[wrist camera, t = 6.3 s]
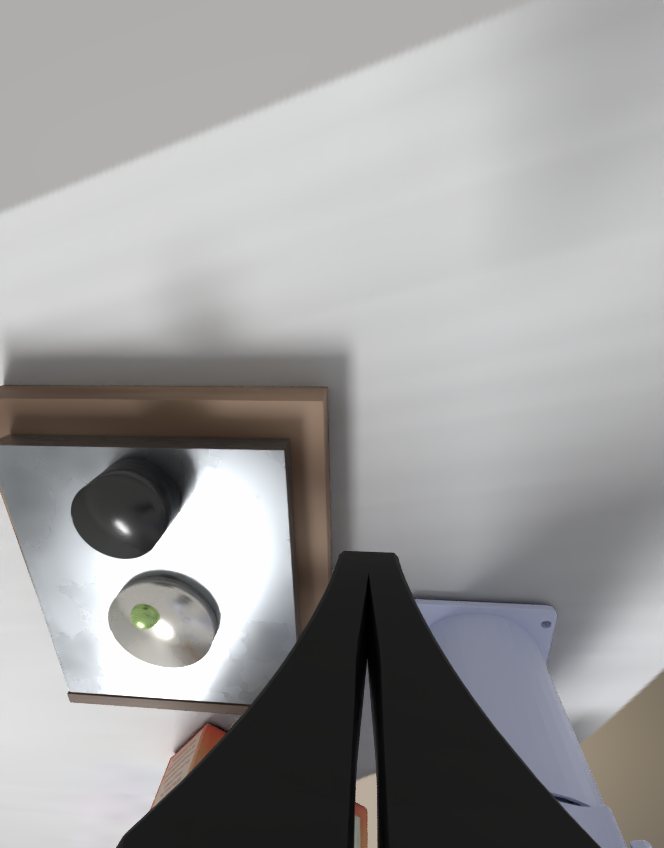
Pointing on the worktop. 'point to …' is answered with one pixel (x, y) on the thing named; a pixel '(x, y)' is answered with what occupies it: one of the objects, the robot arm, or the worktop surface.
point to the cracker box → (200, 748)
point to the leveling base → (208, 418)
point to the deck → (159, 559)
